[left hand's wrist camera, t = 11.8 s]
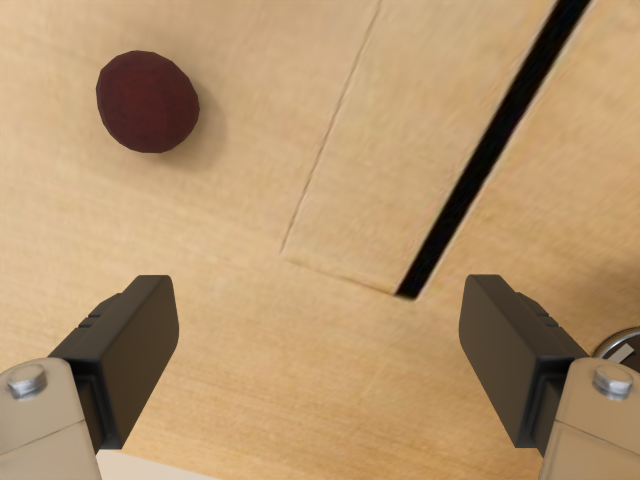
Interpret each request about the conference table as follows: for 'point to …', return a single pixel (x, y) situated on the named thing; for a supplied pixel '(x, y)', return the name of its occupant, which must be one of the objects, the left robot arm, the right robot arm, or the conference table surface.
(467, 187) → the conference table surface
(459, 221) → the conference table surface
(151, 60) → the plum
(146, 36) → the conference table surface
